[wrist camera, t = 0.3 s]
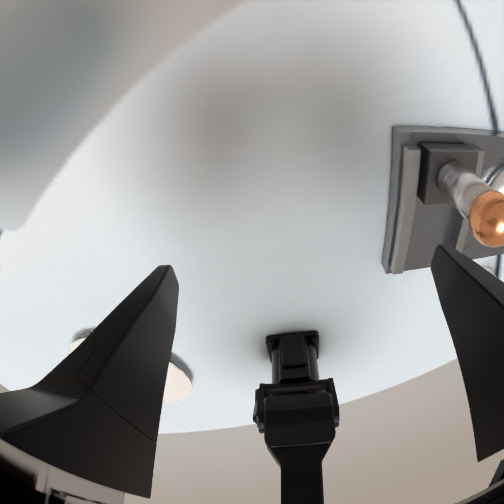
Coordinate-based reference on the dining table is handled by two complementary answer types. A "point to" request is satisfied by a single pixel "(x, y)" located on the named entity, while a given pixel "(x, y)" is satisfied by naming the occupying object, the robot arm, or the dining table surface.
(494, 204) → the press lever
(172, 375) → the plate
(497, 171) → the base
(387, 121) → the dining table surface
